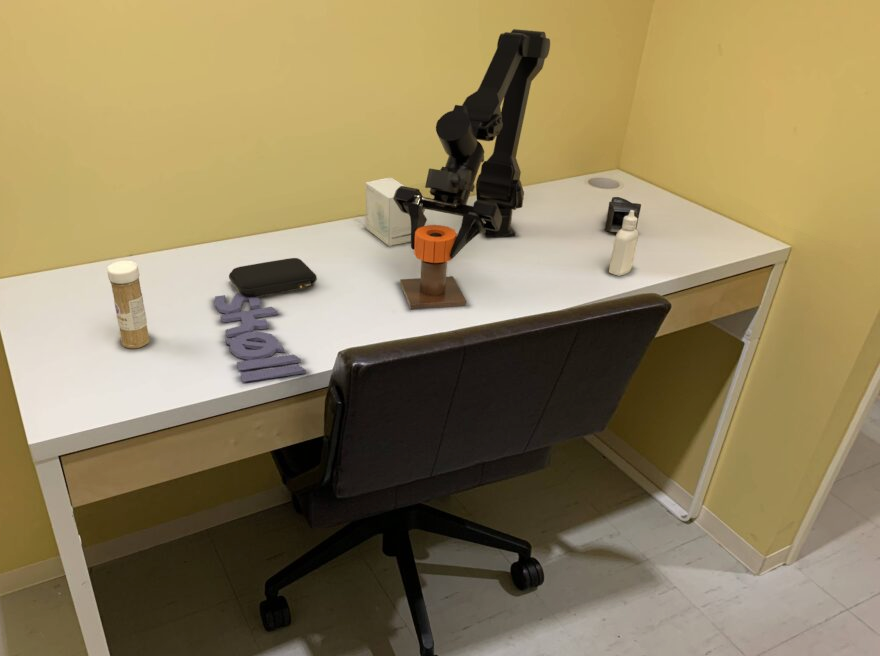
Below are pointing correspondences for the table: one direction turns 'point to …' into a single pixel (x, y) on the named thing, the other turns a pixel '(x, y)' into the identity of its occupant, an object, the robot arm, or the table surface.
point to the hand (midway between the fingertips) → (431, 252)
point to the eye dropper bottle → (624, 246)
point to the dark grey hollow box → (620, 213)
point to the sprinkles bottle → (129, 303)
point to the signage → (254, 340)
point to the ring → (434, 243)
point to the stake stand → (432, 287)
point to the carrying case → (272, 277)
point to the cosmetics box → (386, 212)
